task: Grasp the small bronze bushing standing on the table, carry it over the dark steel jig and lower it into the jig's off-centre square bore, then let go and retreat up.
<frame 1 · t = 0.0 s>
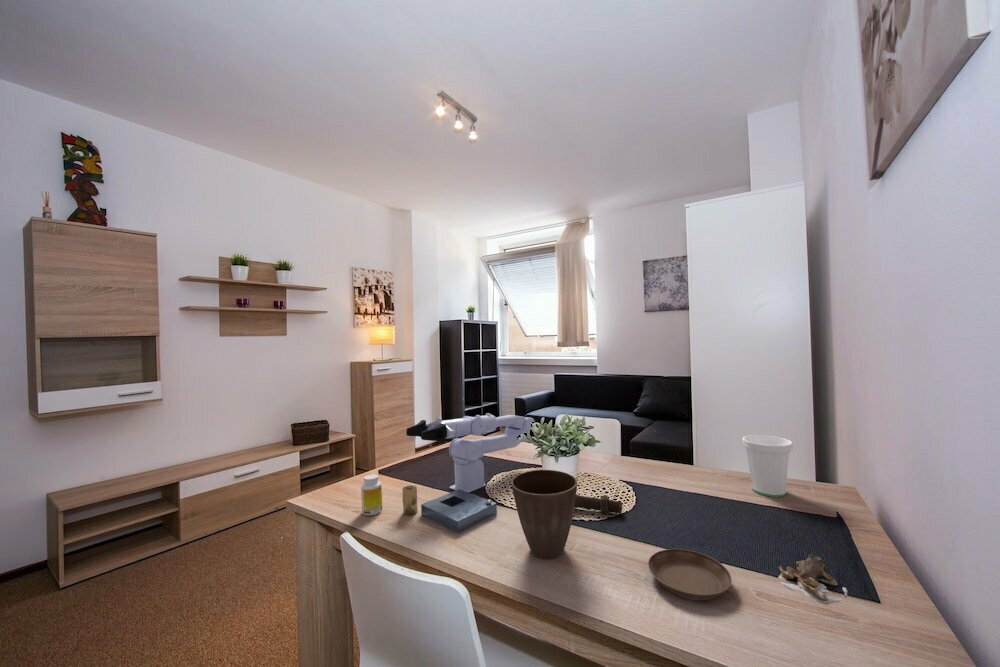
hand: (414, 433, 116), 22 cm above the table, tool horizontal, fingers open, 7 cm apart
bushing: (410, 512, 114), on the table
jig: (458, 514, 111), on the table
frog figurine: (808, 583, 77), on the table
saucer: (688, 583, 78), on the table
supplement bottle: (372, 512, 115), on the table
bolt: (593, 512, 110), on the table
plant pot: (546, 551, 91), on the table
cup: (768, 491, 118), on the table
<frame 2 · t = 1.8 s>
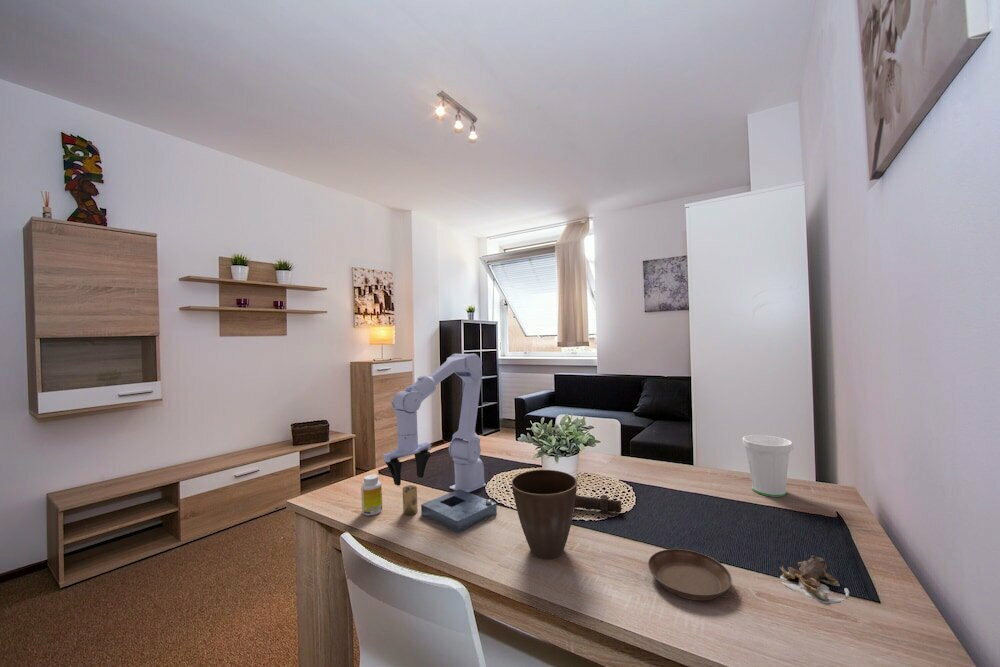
hand: (409, 480, 114), 9 cm above the table, tool pointing down, fingers open, 7 cm apart
nothing on the table moved.
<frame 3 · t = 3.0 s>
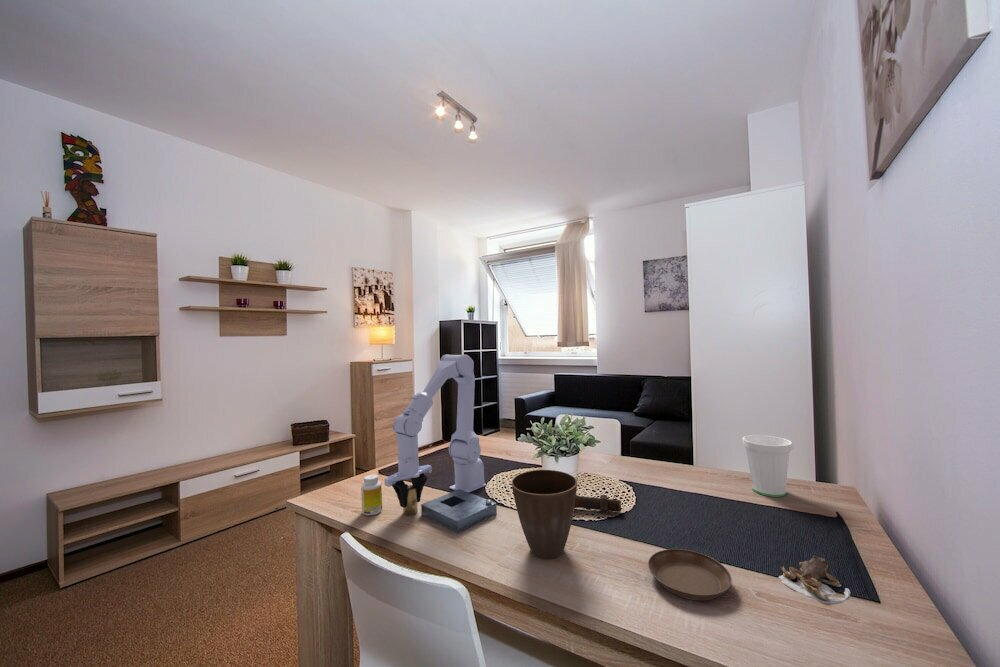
hand: (410, 503, 114), 2 cm above the table, tool pointing down, fingers closed on bushing, 4 cm apart
bushing: (410, 512, 114), on the table, touching gripper
everything else where it was.
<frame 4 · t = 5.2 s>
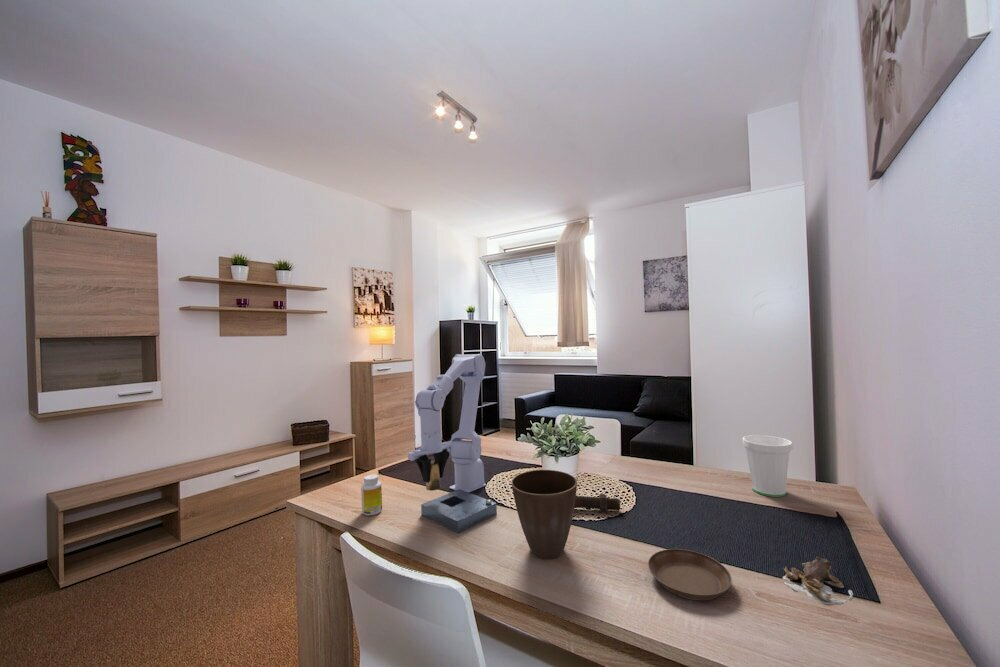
hand: (433, 479, 113), 9 cm above the table, tool pointing down, fingers closed on bushing, 4 cm apart
bushing: (433, 487, 113), point 7 cm above the table, touching gripper
everything else where it was.
when the fingers open (4 cm above the table, at t = 7.3 s): bushing drops 1 cm, resting in jig.
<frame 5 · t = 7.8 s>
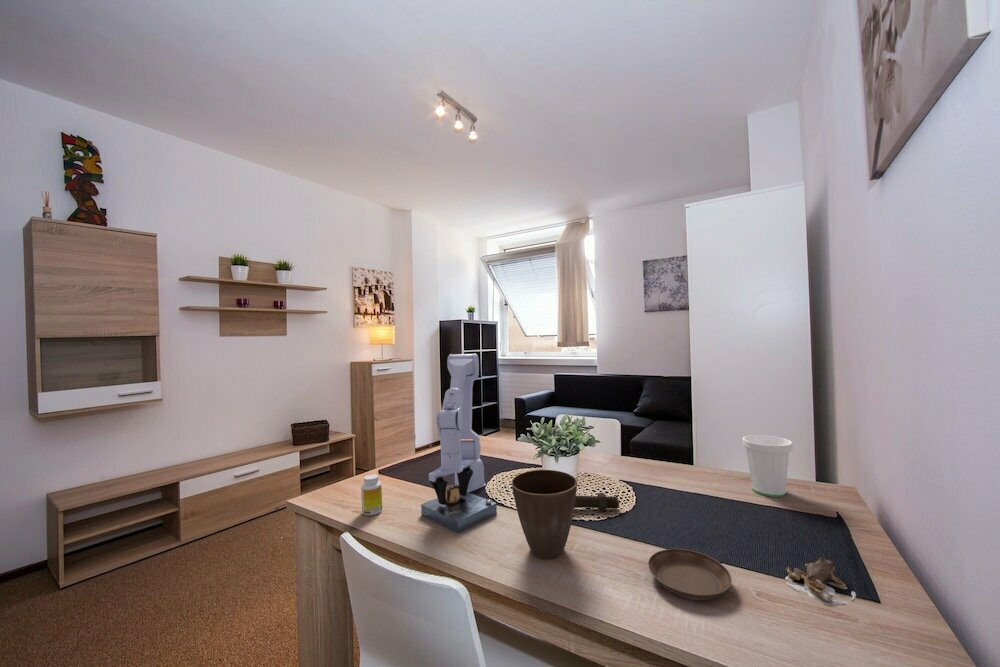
hand: (452, 499, 113), 4 cm above the table, tool pointing down, fingers open, 7 cm apart
bushing: (453, 512, 113), resting in jig
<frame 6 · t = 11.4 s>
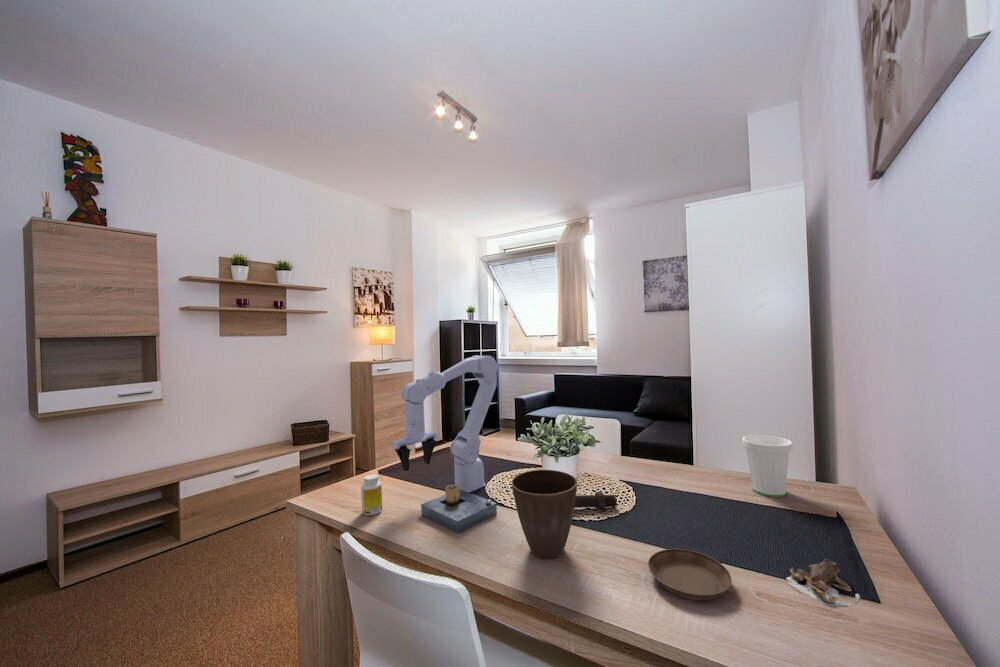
hand: (416, 466, 121), 10 cm above the table, tool pointing down, fingers open, 7 cm apart
at the end: bushing 0.1 cm from the target spot on the jig, point 0.0 cm above the jig's base; bushing tilted 0°; the gripper is holding nothing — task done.
